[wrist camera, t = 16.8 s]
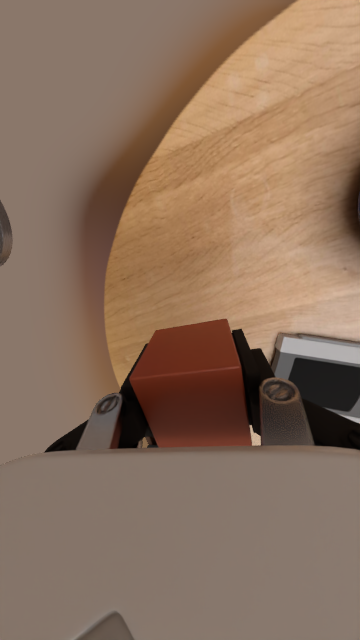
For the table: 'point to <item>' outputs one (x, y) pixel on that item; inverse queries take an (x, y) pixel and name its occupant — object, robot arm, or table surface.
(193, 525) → the robot arm
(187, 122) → the table surface
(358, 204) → the planter
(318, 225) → the table surface
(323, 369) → the alarm clock
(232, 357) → the block
